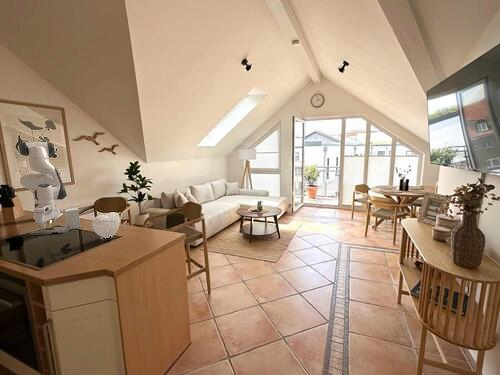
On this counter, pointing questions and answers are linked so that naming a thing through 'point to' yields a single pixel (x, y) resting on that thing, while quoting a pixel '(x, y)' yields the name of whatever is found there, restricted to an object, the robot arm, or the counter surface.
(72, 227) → the skincare box
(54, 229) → the bar with square hole
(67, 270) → the counter surface
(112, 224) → the decorative heart
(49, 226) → the pin
